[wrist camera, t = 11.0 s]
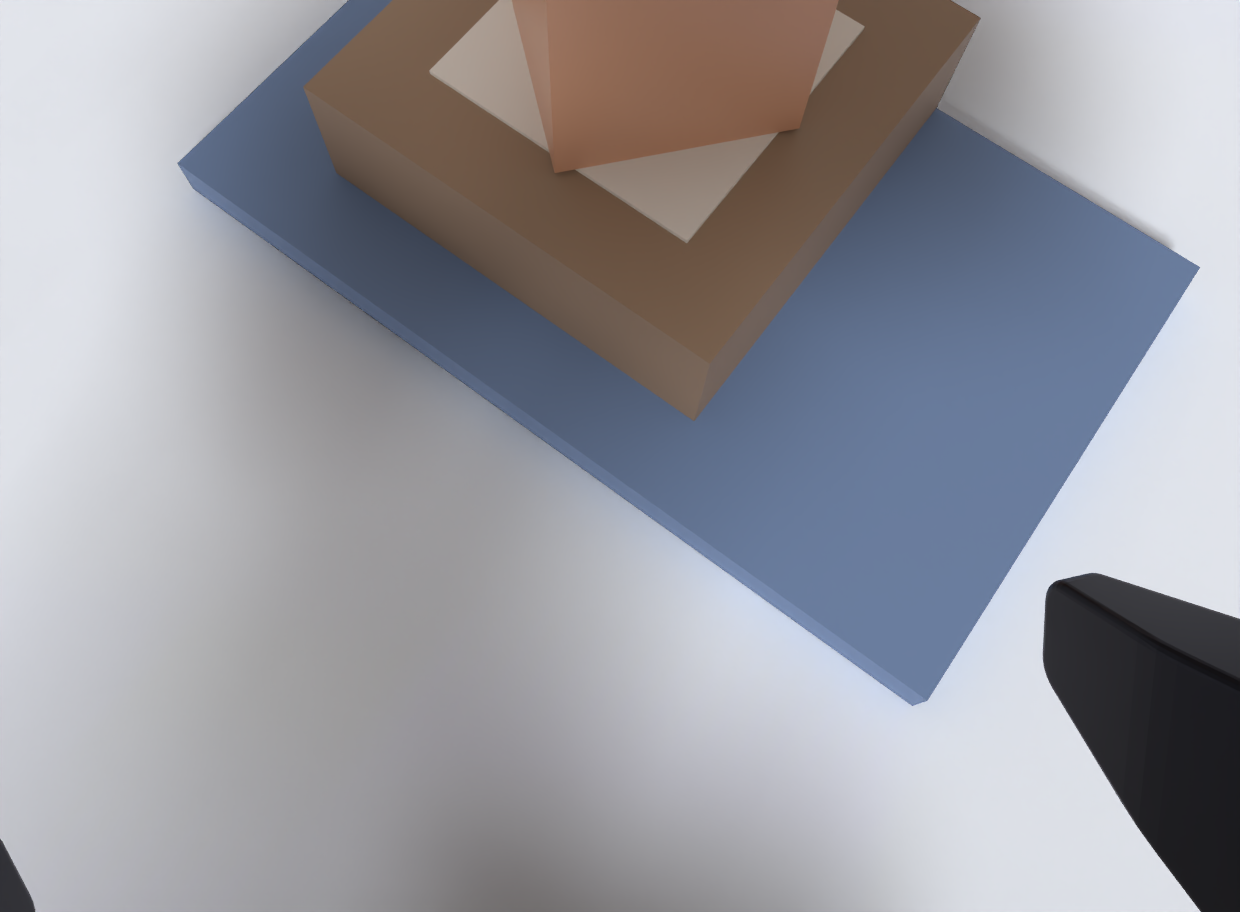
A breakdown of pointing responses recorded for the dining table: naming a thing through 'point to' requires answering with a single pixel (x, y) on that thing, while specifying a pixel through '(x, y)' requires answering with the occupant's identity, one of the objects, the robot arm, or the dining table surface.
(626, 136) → the column
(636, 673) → the dining table surface
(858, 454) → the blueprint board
